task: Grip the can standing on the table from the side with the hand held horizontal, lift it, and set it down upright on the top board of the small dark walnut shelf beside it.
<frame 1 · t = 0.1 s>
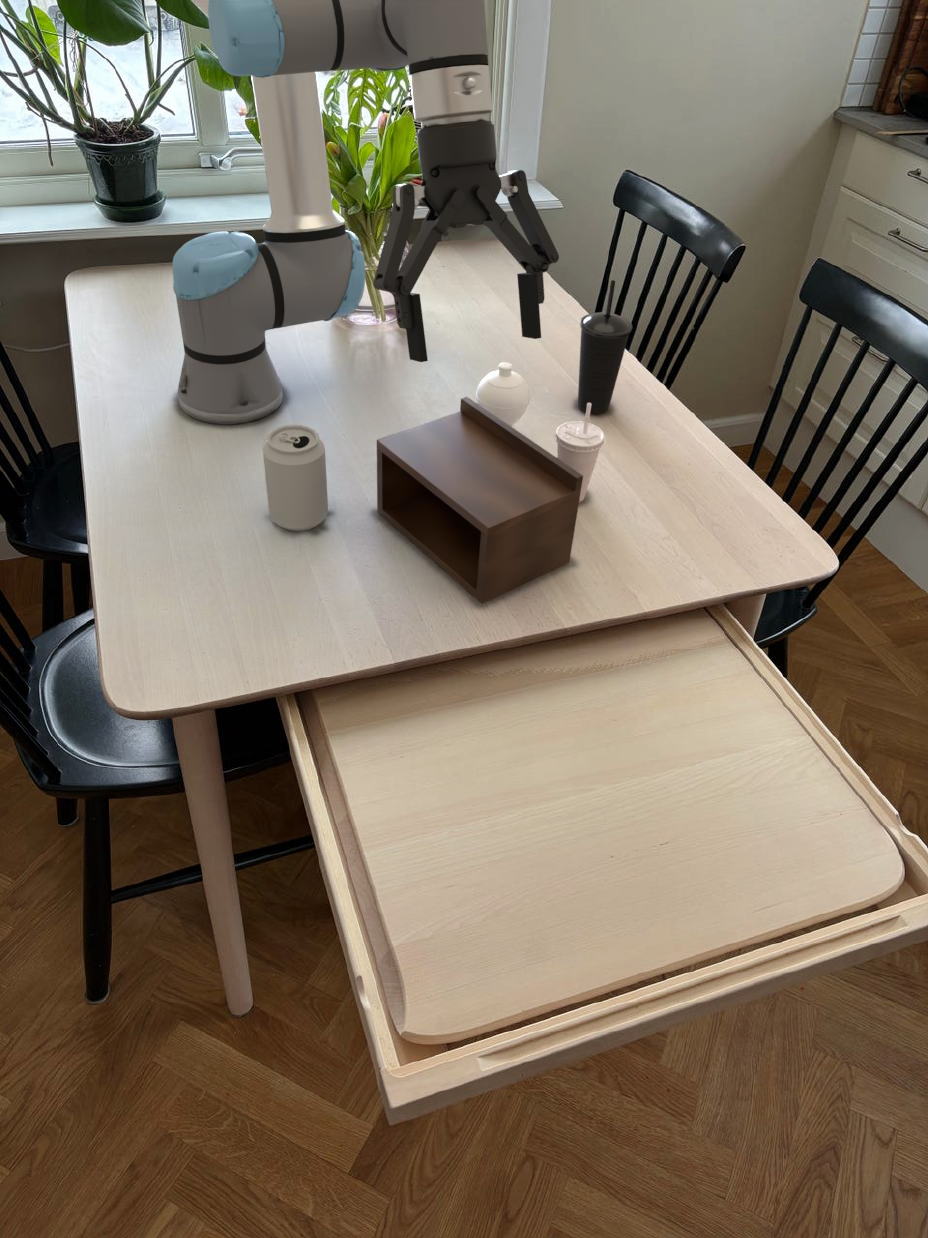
hand: (476, 348, 101), 28 cm above the table, tool tilted 20°, fingers open, 13 cm apart
smoothie: (570, 496, 131), on the table
drinking cup: (592, 408, 149), on the table
can: (299, 518, 124), on the table
shelf: (471, 537, 123), on the table
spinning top: (499, 441, 141), on the table
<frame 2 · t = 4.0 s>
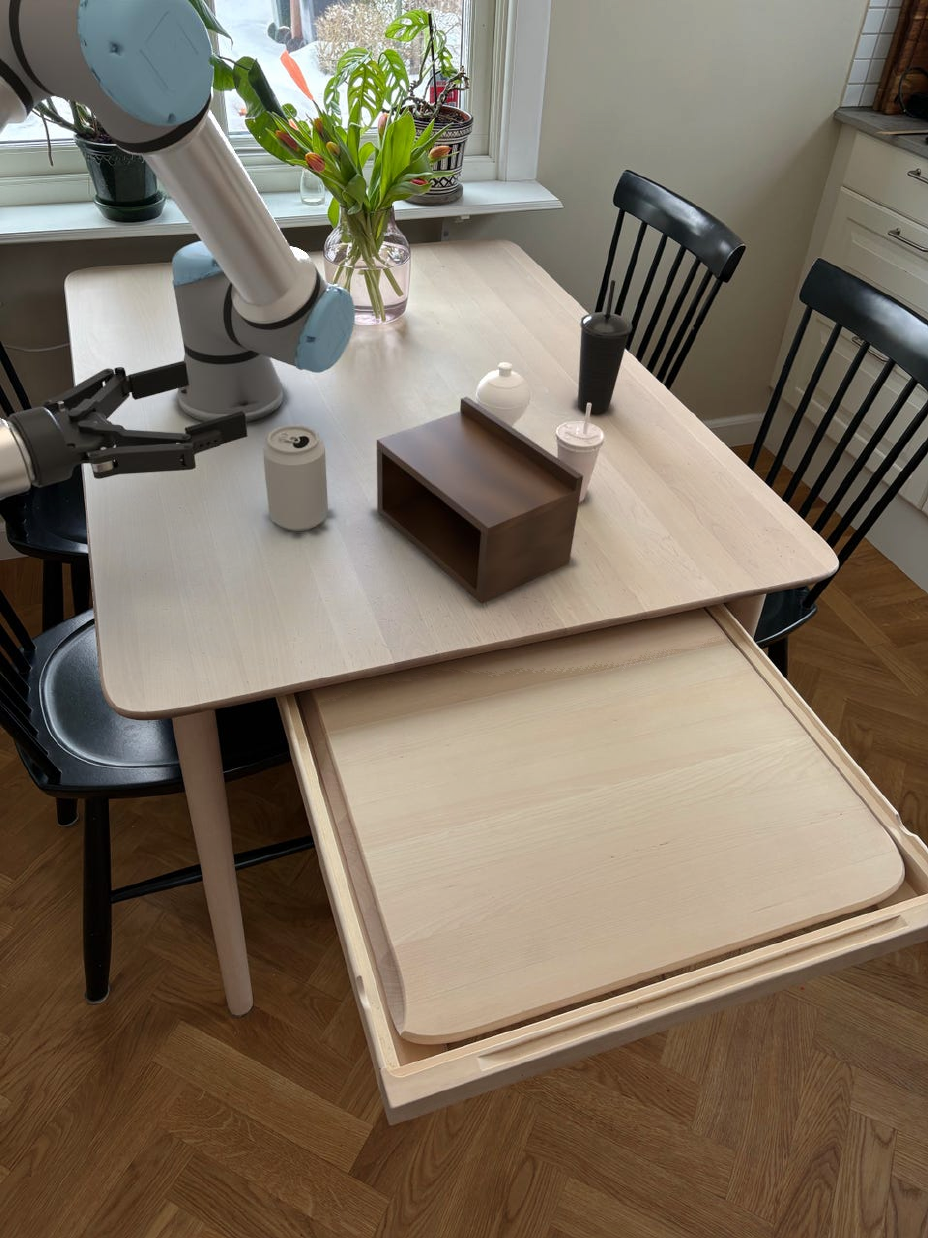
hand: (214, 397, 106), 20 cm above the table, tool horizontal, fingers open, 13 cm apart
nothing on the table moved.
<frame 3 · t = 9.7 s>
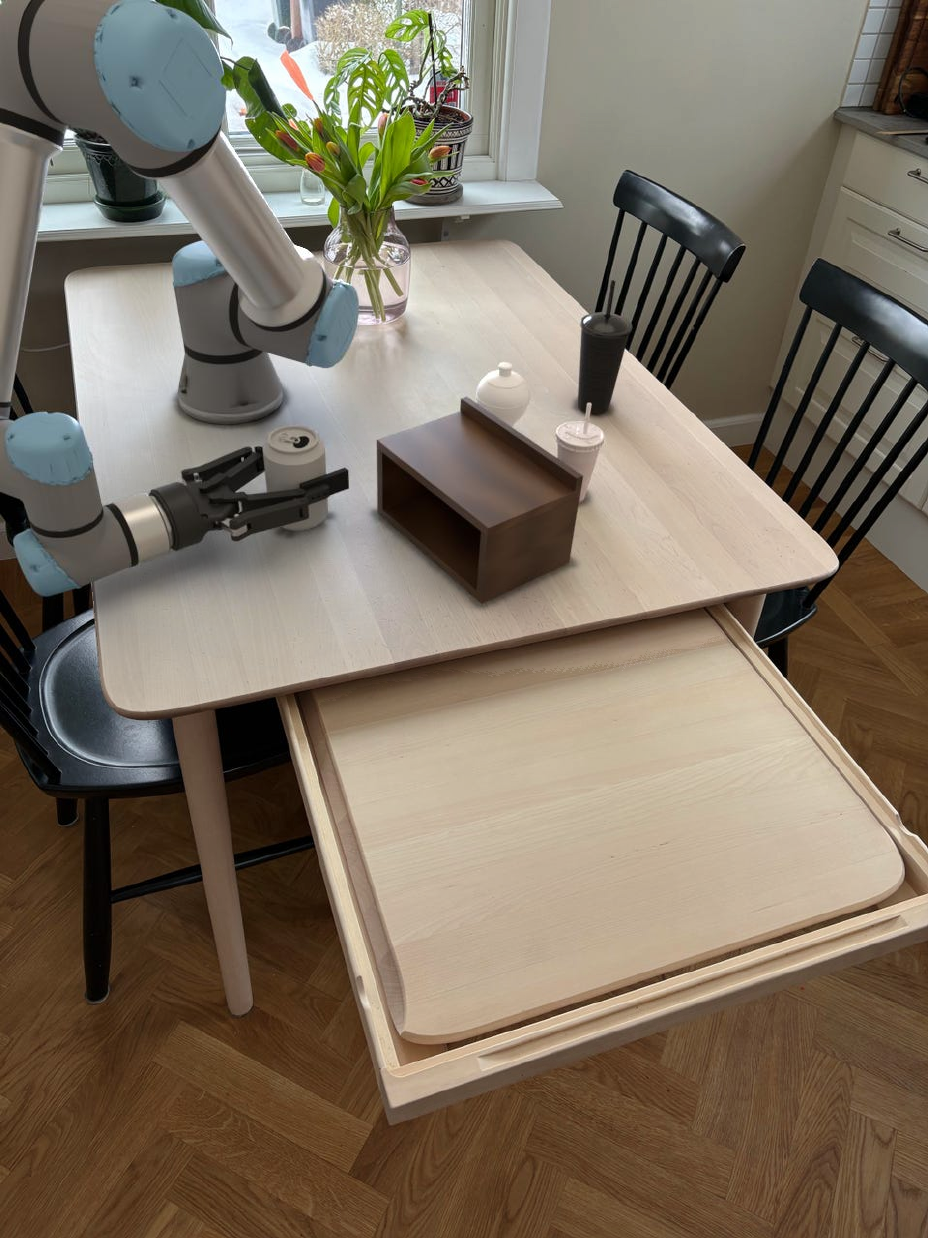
hand: (329, 463, 122), 6 cm above the table, tool horizontal, fingers closed on can, 7 cm apart
can: (299, 518, 124), on the table, touching gripper
everything else where it was.
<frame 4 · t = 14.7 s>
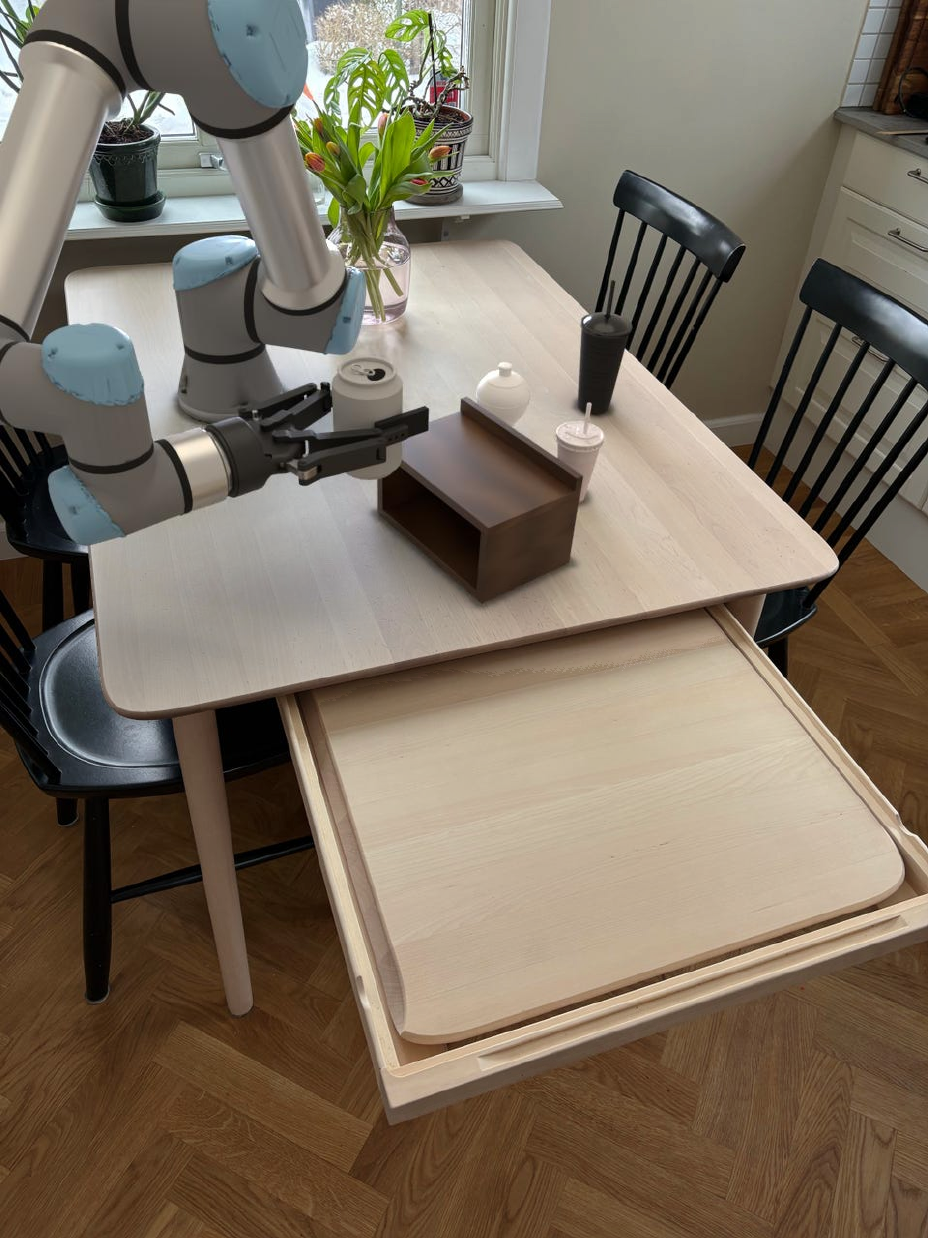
hand: (404, 402, 106), 21 cm above the table, tool horizontal, fingers closed on can, 7 cm apart
can: (368, 467, 108), point 14 cm above the table, touching gripper
everything else where it was.
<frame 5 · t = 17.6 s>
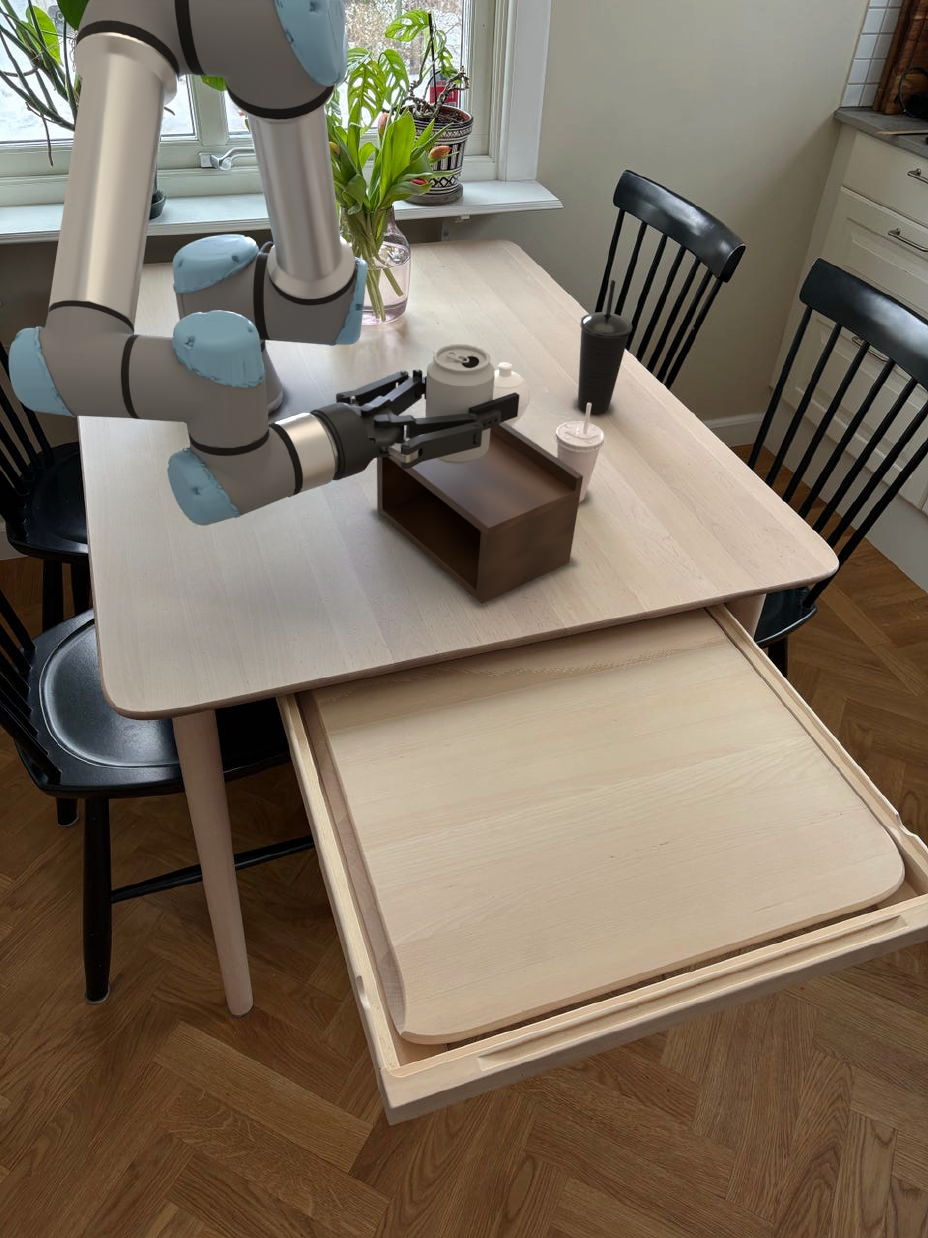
hand: (493, 389, 110), 20 cm above the table, tool horizontal, fingers closed on can, 7 cm apart
can: (456, 452, 112), point 14 cm above the table, touching gripper
everything else where it was.
when the fingers open (17 cm above the table, at t = 19.8 s): can stays where it is, resting on shelf.
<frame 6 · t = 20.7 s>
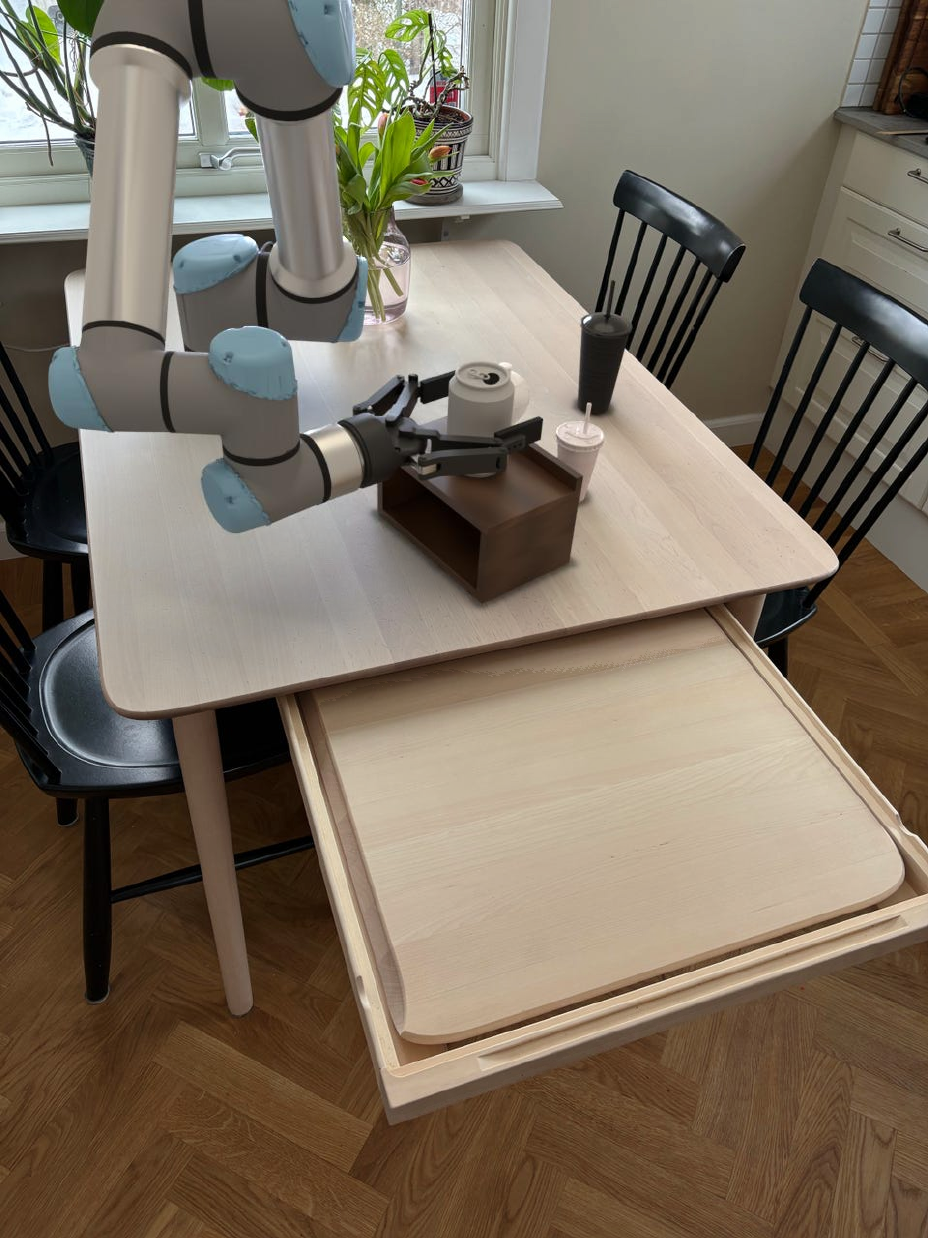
hand: (501, 402, 112), 18 cm above the table, tool horizontal, fingers open, 13 cm apart
can: (476, 465, 115), point 11 cm above the table, touching shelf
everything else where it was.
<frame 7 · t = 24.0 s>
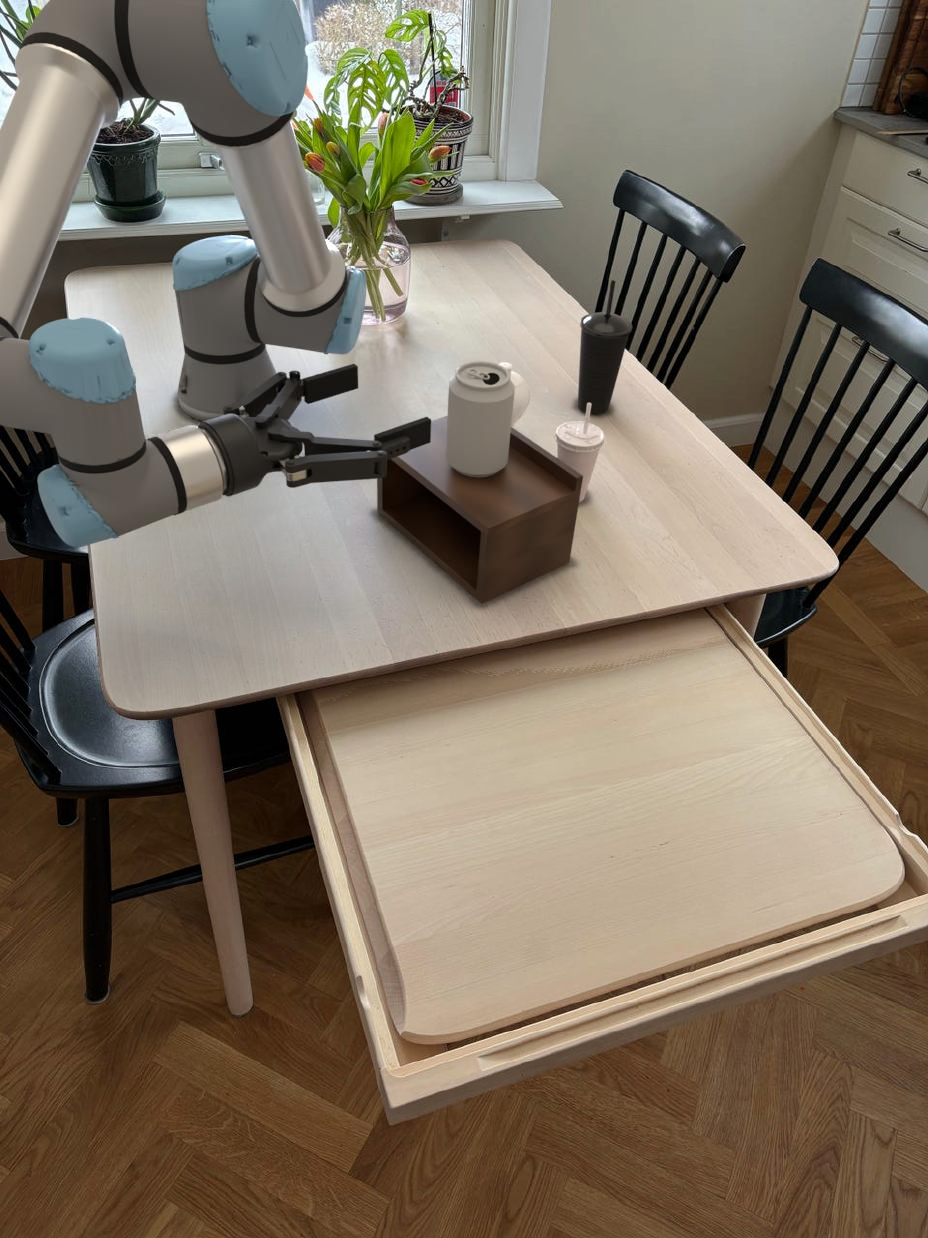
hand: (391, 401, 103), 22 cm above the table, tool horizontal, fingers open, 13 cm apart
nothing on the table moved.
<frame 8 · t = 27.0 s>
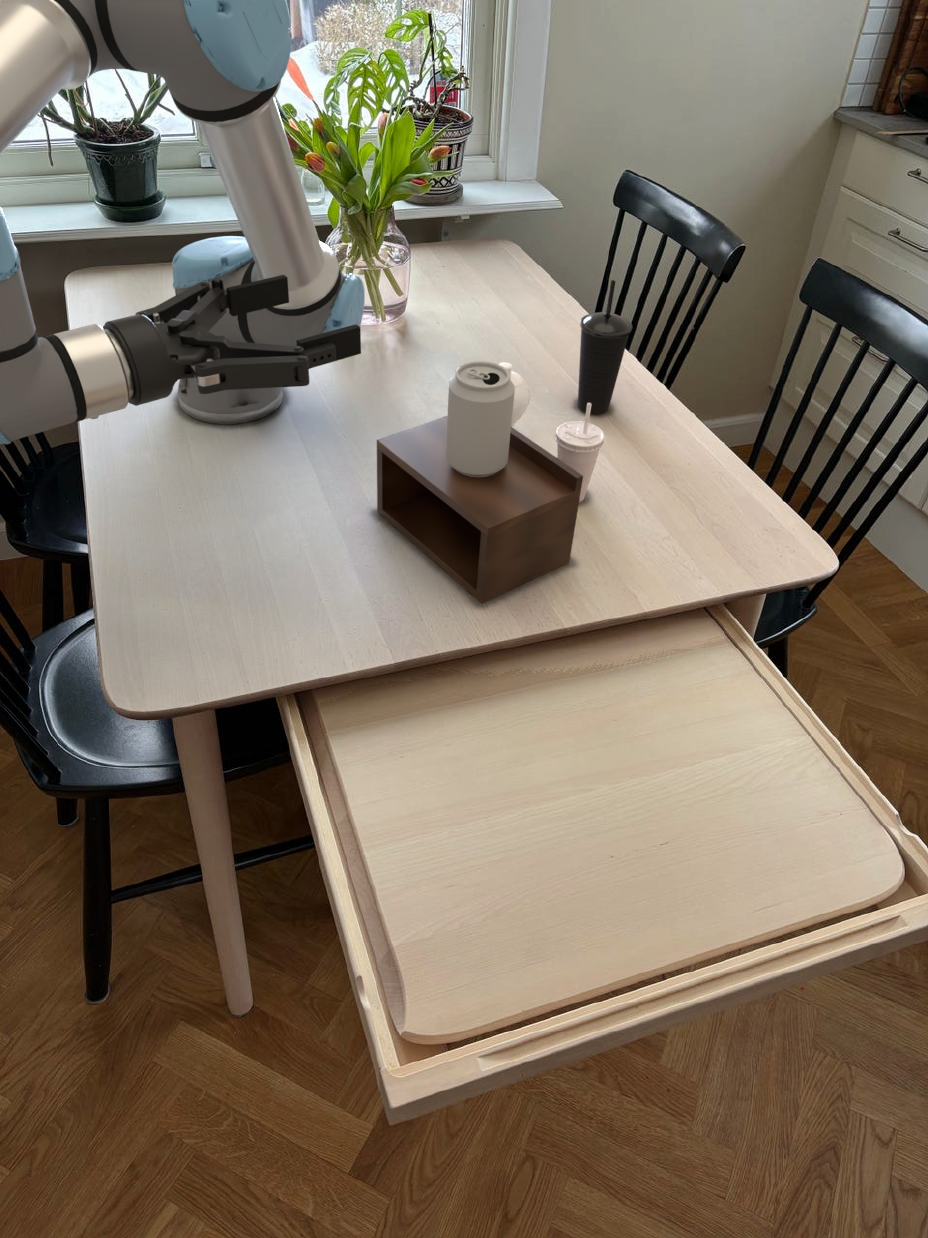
hand: (321, 312, 96), 32 cm above the table, tool horizontal, fingers open, 13 cm apart
nothing on the table moved.
at the end: can inside the target area on the shelf (0.1 cm from its centre), point 10.8 cm above the shelf's base; can tilted 0°; the gripper is holding nothing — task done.
